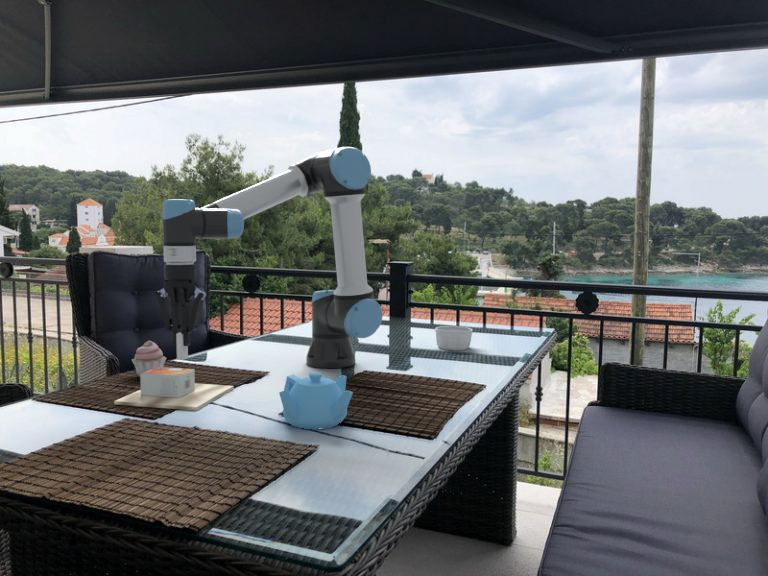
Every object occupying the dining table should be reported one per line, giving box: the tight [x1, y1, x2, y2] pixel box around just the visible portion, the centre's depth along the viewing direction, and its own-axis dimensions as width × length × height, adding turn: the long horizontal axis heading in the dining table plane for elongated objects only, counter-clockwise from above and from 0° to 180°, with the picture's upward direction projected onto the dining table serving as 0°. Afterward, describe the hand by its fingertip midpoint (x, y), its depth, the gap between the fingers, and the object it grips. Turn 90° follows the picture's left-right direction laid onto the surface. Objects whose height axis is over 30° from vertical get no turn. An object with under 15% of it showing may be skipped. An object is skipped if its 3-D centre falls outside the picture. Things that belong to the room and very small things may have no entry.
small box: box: [139, 366, 196, 398], centre depth 157 cm, size 8×6×10 cm
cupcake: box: [131, 340, 167, 378], centre depth 178 cm, size 9×9×10 cm
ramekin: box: [434, 325, 474, 351], centre depth 225 cm, size 13×13×7 cm
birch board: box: [113, 382, 234, 411], centre depth 157 cm, size 21×20×1 cm
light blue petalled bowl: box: [279, 372, 354, 430], centre depth 139 cm, size 15×15×11 cm
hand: (182, 358), depth 156 cm, fingers closed
